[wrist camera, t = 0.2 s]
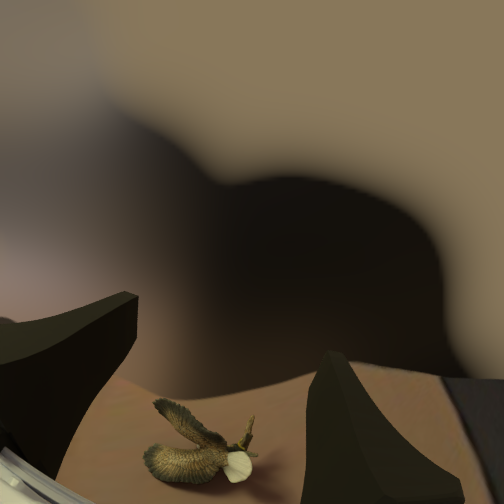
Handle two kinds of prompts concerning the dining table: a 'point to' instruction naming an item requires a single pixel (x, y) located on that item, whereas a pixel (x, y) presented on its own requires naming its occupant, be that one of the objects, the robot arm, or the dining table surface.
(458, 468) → the dining table surface
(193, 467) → the eagle figurine
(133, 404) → the dining table surface
